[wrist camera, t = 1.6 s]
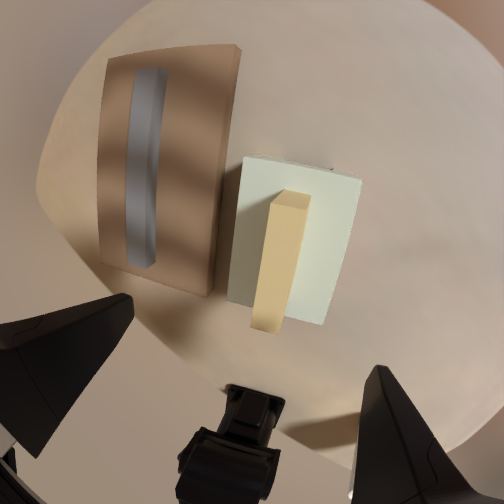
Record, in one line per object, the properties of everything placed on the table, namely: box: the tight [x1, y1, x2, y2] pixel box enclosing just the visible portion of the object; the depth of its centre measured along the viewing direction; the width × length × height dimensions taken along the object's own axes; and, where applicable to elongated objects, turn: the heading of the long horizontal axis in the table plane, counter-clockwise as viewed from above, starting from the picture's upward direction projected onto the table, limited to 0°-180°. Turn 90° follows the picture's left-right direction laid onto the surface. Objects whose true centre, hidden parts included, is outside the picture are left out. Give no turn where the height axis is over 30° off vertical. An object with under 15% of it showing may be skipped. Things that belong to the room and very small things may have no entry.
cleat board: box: [97, 44, 241, 298], centre depth 20 cm, size 20×12×3 cm, turn 172°
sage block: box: [226, 154, 363, 335], centre depth 17 cm, size 10×7×8 cm
